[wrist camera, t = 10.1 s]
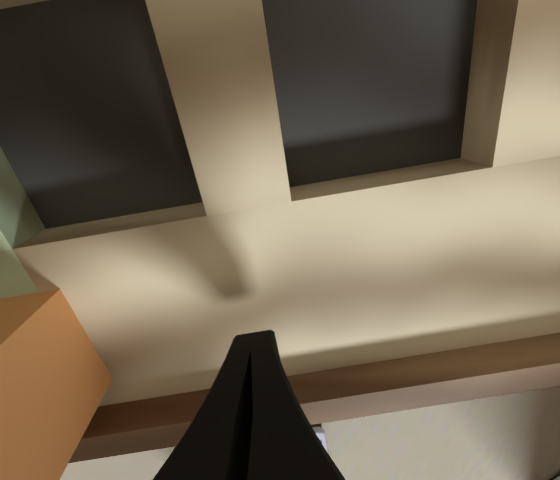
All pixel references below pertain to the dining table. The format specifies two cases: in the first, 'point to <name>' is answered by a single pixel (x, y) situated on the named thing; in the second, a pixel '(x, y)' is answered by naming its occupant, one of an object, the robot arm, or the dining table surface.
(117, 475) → the dining table surface
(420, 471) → the dining table surface
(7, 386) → the block
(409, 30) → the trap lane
